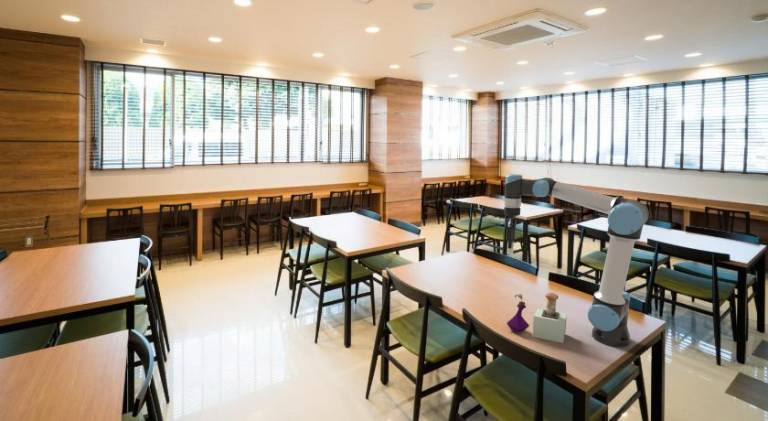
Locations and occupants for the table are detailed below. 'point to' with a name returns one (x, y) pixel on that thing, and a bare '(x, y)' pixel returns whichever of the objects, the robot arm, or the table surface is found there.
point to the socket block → (549, 326)
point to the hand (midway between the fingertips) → (509, 254)
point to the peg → (551, 303)
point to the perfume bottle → (518, 318)
